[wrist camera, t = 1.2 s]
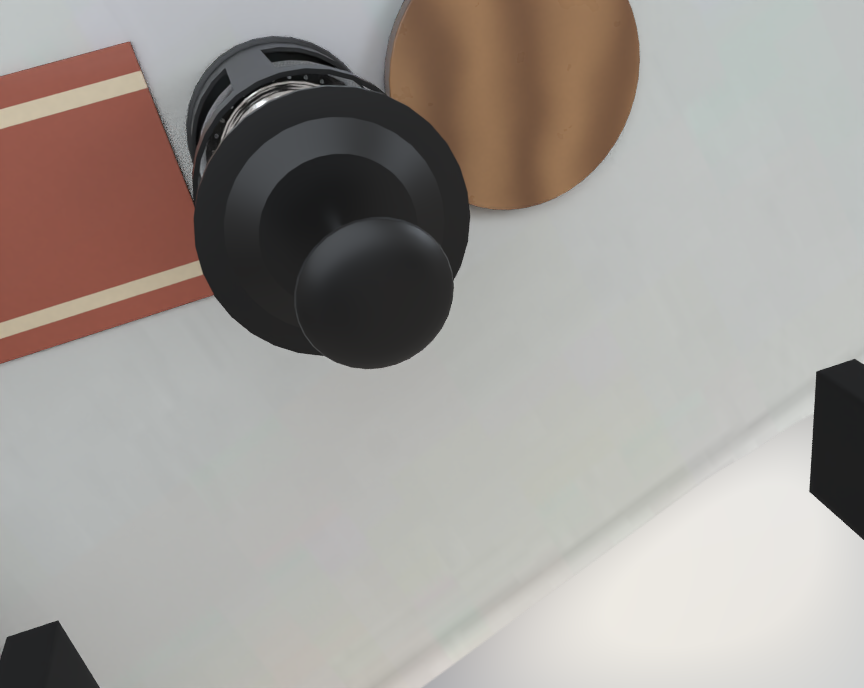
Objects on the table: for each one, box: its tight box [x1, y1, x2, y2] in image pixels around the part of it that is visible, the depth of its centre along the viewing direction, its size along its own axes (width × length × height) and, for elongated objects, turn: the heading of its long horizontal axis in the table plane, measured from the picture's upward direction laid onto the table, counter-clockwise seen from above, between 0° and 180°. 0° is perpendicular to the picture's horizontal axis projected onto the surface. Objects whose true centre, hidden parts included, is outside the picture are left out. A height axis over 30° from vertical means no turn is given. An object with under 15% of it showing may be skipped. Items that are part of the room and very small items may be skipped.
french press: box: [186, 36, 470, 369], centre depth 30 cm, size 12×9×23 cm
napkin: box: [0, 42, 214, 364], centre depth 38 cm, size 13×13×1 cm
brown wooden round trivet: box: [384, 0, 640, 210], centre depth 41 cm, size 14×14×1 cm
